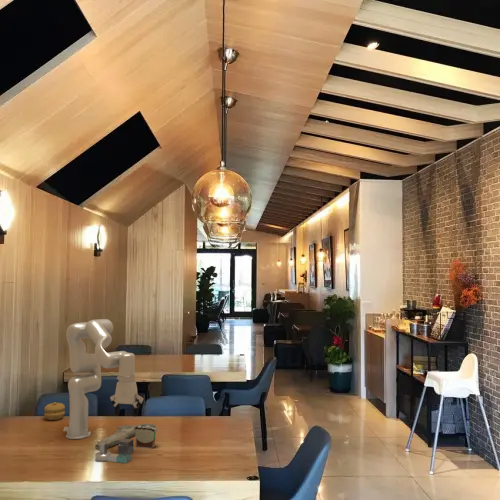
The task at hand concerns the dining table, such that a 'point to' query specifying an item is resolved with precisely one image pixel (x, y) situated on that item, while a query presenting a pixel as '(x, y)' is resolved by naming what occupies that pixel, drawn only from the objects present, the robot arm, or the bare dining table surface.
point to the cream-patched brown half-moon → (145, 435)
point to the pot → (54, 411)
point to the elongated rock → (117, 436)
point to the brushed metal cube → (125, 446)
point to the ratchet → (111, 455)
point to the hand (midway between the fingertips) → (126, 415)
